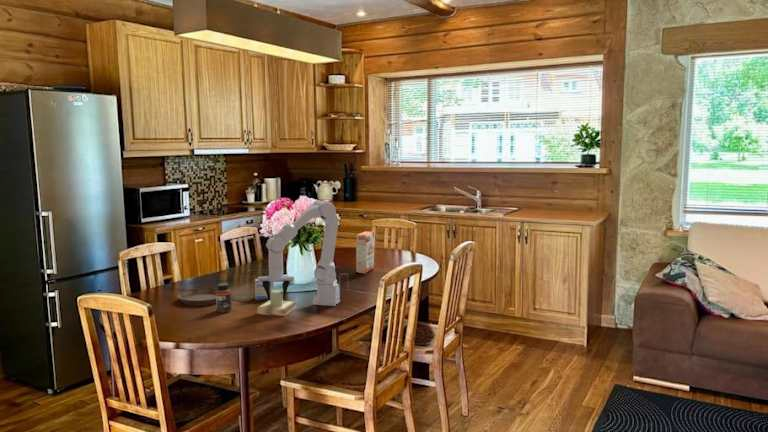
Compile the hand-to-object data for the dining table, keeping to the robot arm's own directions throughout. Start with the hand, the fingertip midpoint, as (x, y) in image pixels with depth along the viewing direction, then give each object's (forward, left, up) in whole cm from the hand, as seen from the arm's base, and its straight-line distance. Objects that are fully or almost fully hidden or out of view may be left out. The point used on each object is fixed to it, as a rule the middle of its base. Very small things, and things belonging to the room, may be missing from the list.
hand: (276, 299), depth 238 cm
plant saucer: (+38, -8, -5) cm, 39 cm away
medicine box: (+13, -17, -5) cm, 22 cm away
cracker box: (-18, -78, -5) cm, 80 cm away
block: (0, 0, -2) cm, 2 cm away
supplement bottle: (+21, +5, -5) cm, 22 cm away
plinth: (0, 0, -5) cm, 5 cm away
